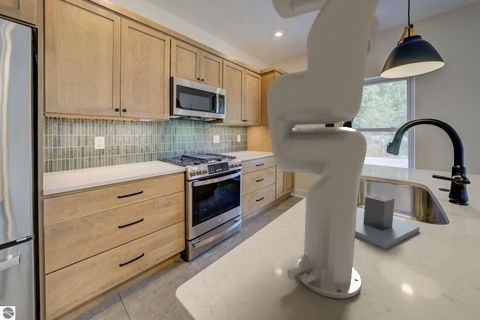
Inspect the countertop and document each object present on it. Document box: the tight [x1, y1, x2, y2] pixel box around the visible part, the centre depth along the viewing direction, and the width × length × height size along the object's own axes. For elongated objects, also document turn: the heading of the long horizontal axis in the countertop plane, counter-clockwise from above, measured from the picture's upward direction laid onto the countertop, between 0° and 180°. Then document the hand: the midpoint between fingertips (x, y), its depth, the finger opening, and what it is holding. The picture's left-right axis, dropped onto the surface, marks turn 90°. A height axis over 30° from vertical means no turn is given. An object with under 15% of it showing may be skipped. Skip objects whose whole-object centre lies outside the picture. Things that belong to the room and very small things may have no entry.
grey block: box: [363, 193, 395, 231], centre depth 63 cm, size 6×6×9 cm
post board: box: [355, 214, 420, 250], centre depth 63 cm, size 20×14×6 cm
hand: (338, 134), depth 71 cm, fingers open, 9 cm apart
